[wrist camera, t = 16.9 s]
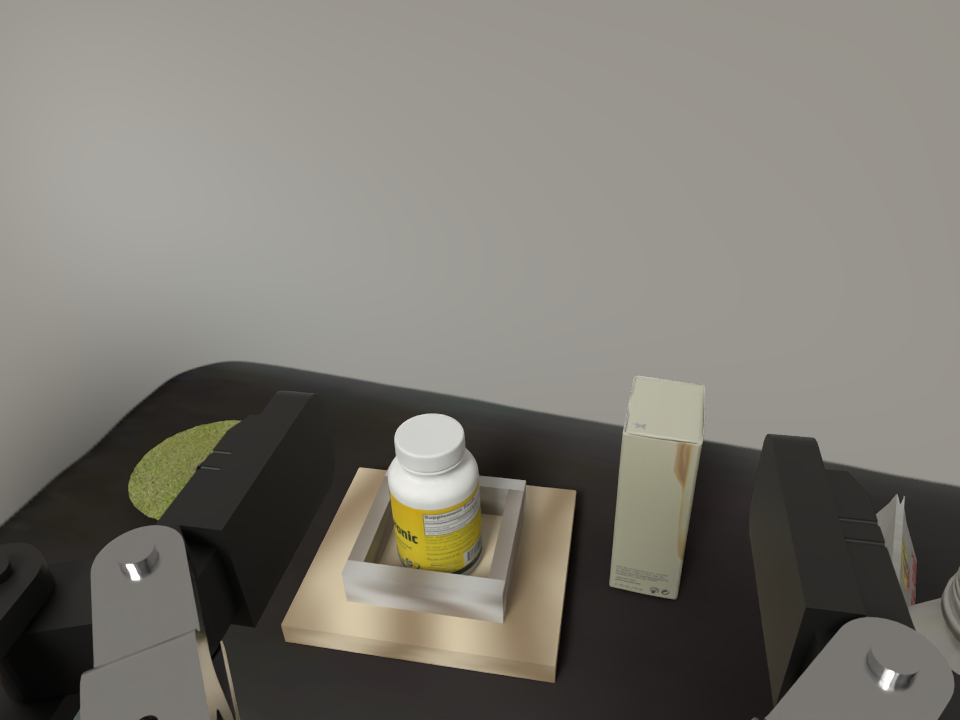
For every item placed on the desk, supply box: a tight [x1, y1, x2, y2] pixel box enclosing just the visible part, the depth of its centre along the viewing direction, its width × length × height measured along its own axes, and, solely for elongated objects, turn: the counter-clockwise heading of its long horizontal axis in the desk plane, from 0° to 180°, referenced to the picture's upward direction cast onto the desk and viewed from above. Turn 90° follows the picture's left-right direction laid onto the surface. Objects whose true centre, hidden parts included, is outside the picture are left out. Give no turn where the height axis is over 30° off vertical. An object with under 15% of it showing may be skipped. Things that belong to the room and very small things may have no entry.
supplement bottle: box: [388, 414, 482, 576], centre depth 44 cm, size 5×5×10 cm
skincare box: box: [609, 376, 705, 599], centre depth 44 cm, size 6×4×12 cm
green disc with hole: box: [128, 420, 240, 520], centre depth 55 cm, size 11×11×2 cm
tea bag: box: [876, 494, 917, 607], centre depth 38 cm, size 4×7×10 cm, turn 152°
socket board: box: [281, 466, 576, 683], centre depth 47 cm, size 16×14×4 cm
